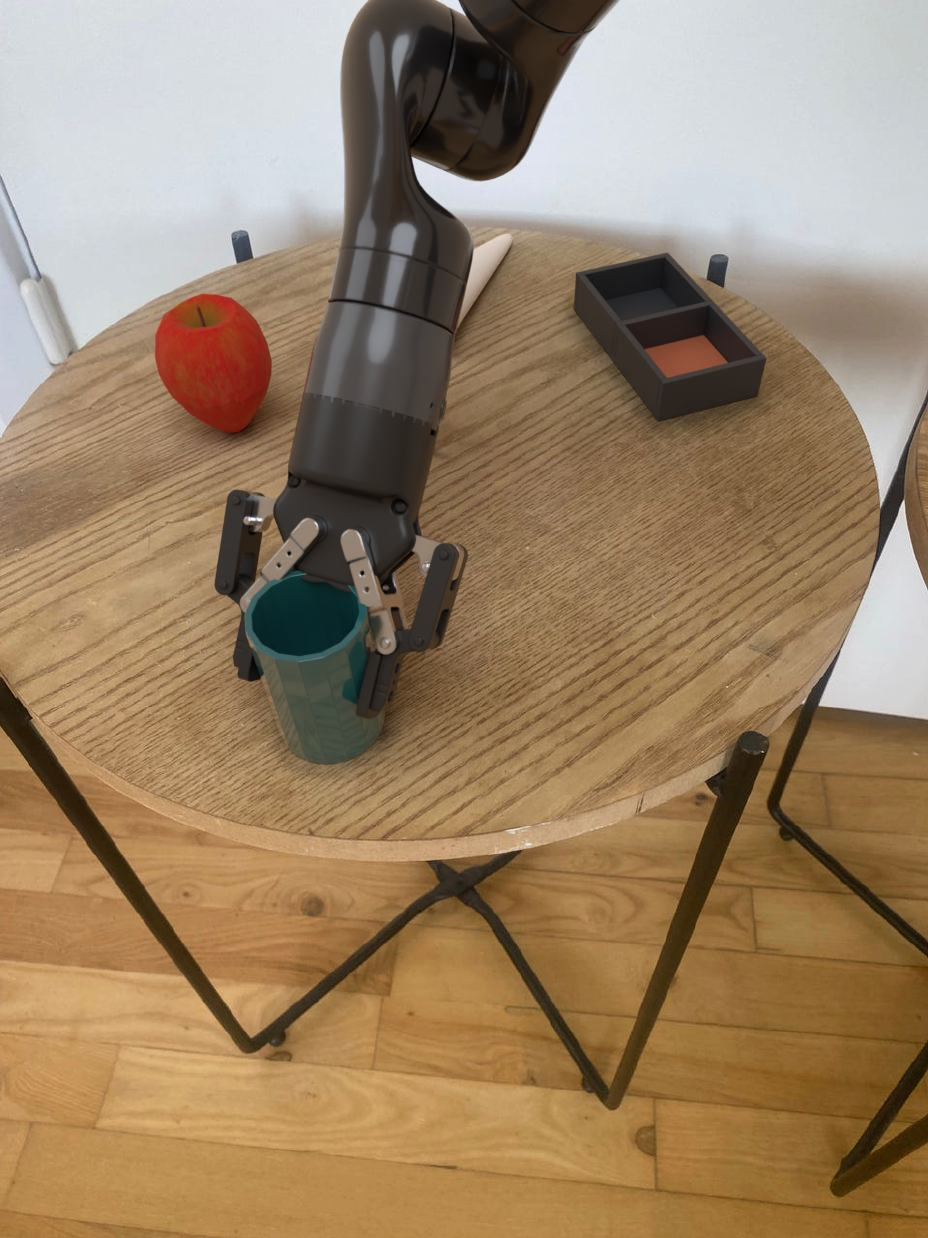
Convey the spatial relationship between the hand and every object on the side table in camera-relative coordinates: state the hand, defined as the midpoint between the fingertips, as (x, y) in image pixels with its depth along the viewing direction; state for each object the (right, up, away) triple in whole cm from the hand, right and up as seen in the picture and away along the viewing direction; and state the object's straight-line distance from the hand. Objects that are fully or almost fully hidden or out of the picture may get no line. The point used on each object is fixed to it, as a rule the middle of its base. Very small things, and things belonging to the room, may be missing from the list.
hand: (308, 696), depth 54 cm
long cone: (+10, +34, +34) cm, 49 cm away
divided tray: (+25, +27, +27) cm, 46 cm away
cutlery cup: (+1, -2, +4) cm, 5 cm away
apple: (-10, +20, +23) cm, 32 cm away
